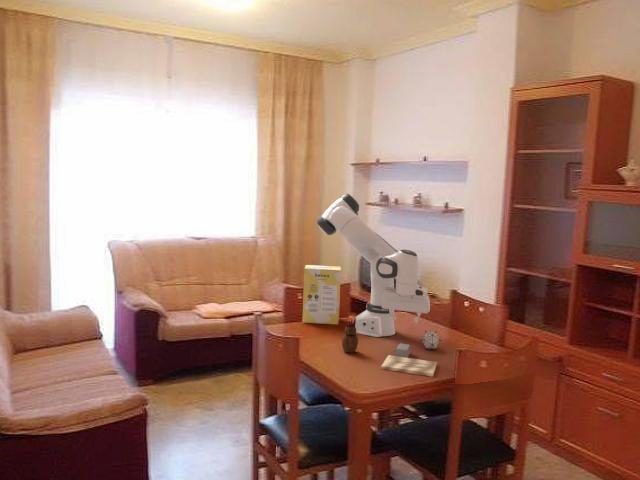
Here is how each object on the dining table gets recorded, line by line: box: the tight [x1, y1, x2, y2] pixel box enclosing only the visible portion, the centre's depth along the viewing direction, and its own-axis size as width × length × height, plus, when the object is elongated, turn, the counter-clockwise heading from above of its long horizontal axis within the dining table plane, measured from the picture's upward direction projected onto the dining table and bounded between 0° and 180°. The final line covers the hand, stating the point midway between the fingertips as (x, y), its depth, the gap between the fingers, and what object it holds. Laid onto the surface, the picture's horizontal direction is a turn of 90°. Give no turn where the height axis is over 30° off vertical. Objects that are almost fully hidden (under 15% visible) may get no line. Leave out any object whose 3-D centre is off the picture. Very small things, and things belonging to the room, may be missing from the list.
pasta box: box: [302, 264, 342, 325], centre depth 275 cm, size 18×10×28 cm, turn 86°
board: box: [380, 354, 438, 378], centre depth 213 cm, size 20×14×1 cm
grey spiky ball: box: [420, 330, 443, 351], centre depth 237 cm, size 9×8×10 cm
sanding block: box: [395, 343, 411, 358], centre depth 227 cm, size 4×8×4 cm, turn 160°
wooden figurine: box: [341, 317, 359, 354], centre depth 228 cm, size 7×6×15 cm
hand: (404, 321), depth 225 cm, fingers open, 8 cm apart
